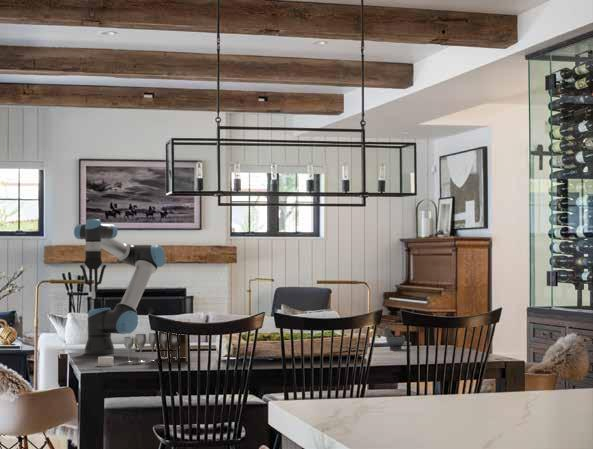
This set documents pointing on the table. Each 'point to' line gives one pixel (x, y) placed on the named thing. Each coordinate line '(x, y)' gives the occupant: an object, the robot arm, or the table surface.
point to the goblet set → (141, 342)
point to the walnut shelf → (182, 346)
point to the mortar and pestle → (394, 340)
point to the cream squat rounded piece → (106, 361)
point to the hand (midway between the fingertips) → (93, 298)
